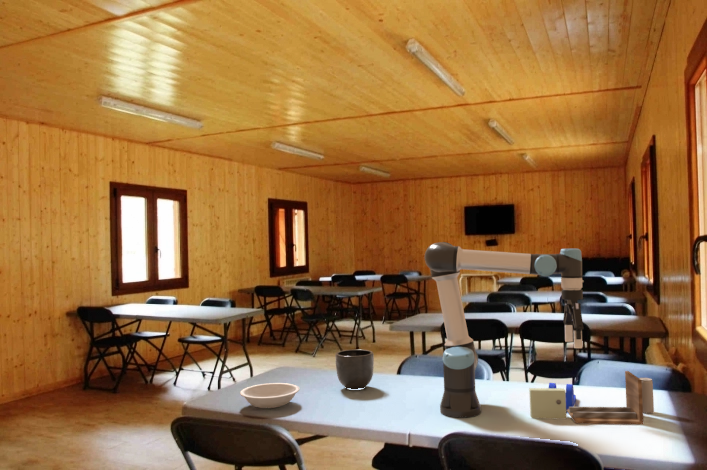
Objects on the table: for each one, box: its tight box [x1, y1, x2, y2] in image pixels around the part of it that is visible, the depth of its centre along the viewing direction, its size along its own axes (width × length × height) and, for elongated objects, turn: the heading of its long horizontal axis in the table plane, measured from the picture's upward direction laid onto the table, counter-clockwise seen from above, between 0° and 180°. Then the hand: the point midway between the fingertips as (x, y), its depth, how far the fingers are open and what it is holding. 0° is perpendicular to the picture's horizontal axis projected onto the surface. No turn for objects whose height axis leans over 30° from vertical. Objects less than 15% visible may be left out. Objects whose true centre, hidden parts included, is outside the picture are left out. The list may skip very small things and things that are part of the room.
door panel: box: [528, 387, 567, 420], centre depth 207 cm, size 12×4×10 cm, turn 81°
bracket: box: [548, 382, 577, 411], centre depth 224 cm, size 18×8×9 cm, turn 154°
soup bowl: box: [239, 382, 300, 409], centre depth 233 cm, size 24×24×7 cm
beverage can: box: [638, 377, 655, 415], centre depth 209 cm, size 5×5×12 cm
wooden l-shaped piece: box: [566, 370, 644, 425], centre depth 204 cm, size 22×14×15 cm, turn 81°
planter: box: [334, 348, 375, 389], centre depth 257 cm, size 17×17×16 cm
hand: (573, 344), depth 218 cm, fingers open, 13 cm apart
